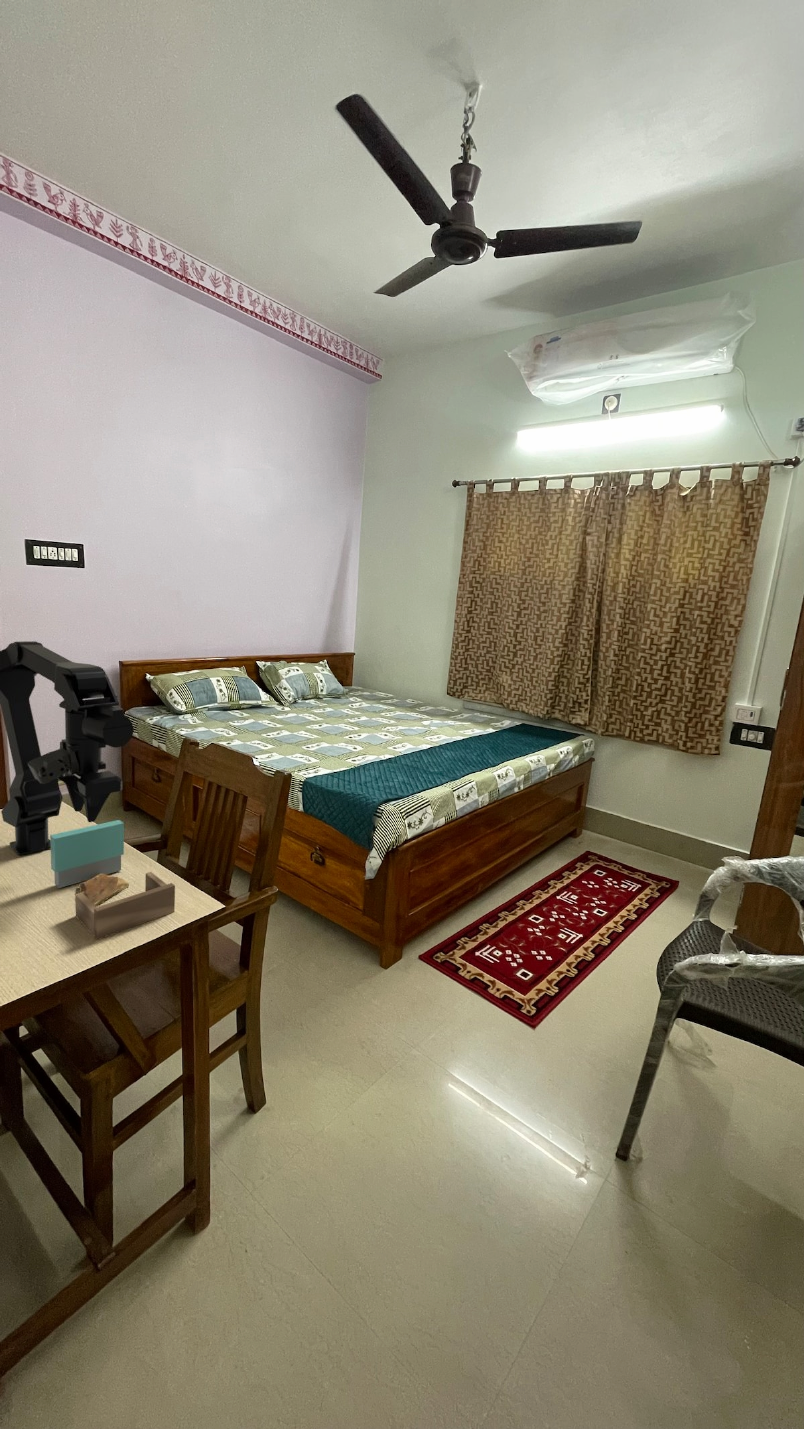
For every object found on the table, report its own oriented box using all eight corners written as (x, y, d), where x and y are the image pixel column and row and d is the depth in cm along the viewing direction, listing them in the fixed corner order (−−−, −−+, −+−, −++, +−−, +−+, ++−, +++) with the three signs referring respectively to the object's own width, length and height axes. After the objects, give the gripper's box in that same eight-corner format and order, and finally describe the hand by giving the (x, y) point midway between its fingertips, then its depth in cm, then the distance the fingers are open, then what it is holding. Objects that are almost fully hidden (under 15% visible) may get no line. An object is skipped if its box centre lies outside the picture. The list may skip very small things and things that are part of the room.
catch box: (75, 916, 95) (75, 888, 94) (150, 891, 105) (151, 866, 104) (97, 939, 90) (97, 911, 89) (174, 911, 100) (175, 885, 99)
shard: (84, 918, 96) (84, 908, 96) (48, 907, 98) (48, 898, 97) (131, 889, 106) (131, 880, 106) (97, 879, 108) (97, 871, 108)
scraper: (51, 884, 103) (50, 835, 101) (119, 865, 112) (119, 819, 111) (55, 889, 102) (54, 838, 100) (123, 869, 111) (123, 823, 109)
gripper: (15, 728, 103) (18, 809, 106) (52, 754, 91) (54, 845, 94) (81, 722, 111) (82, 798, 114) (123, 745, 99) (123, 829, 102)
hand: (84, 816), depth 106 cm, fingers open, 6 cm apart
